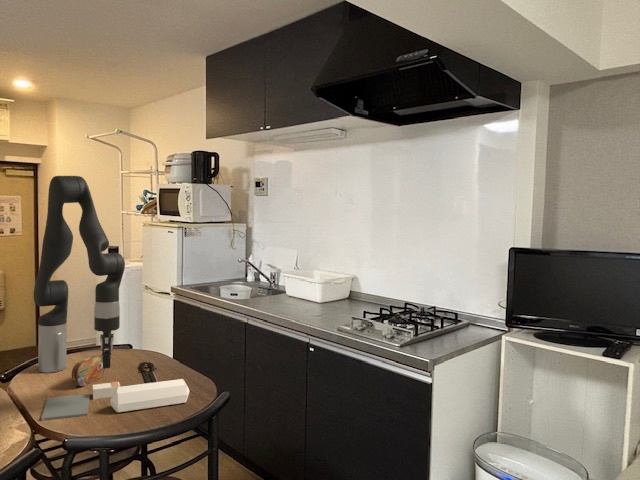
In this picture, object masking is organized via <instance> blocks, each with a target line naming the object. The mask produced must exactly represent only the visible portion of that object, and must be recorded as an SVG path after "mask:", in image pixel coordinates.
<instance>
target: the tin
mask: <svg viewBox="0 0 640 480" xmlns="http://www.w3.org/2000/svg"><path fill="white" fill-rule="evenodd" d="M105 370H106V368H105V369H104V368H103V357H102V355H91V356H89V357H87V358H85V359H82V360H80V361H78V362H77V363H75V364H74V366H73V367H72V371H71V381H72V383H73V385H75V386H78V387H86V386H87V385H90V384H92V383H94V382H95V381H97V380H100V379H101V378H102V376H103V375H104V372H105Z"/></svg>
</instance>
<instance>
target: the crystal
mask: <svg viewBox="0 0 640 480" xmlns="http://www.w3.org/2000/svg"><path fill="white" fill-rule="evenodd" d="M189 395H190V389H189V386H188V385H187V383H186V382H185V379H183V378H180V379H178V378H177V379H173V380H172V379H171V380H164V381H162V380H161V381H158V382H154V383H153V382H151V383H147V382H146V383H140V384H139V383H138V384H132V385H124V386H120V387H118V388H117V389H116V390H115V392H114V394H113V395H112V397H110V400H109V403H110V406H111V408H112V409H113V411H115V412H116V413H123V412H130V411H137V410H145V409H150V408H157V407H165V406H169V405H179V404H183V403H186V402H187V401H188V398H189Z"/></svg>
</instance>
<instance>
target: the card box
mask: <svg viewBox="0 0 640 480" xmlns="http://www.w3.org/2000/svg"><path fill="white" fill-rule="evenodd" d="M118 387H121V384H120V382H119V381H111V382H106V383H97V384H92V399H93V400H98V399H99V400H101V399H109V398H111V397H112V395H113V394H114V392H115V390H116V389H117V388H118Z"/></svg>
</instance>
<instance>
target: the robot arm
mask: <svg viewBox="0 0 640 480" xmlns="http://www.w3.org/2000/svg"><path fill="white" fill-rule="evenodd" d="M75 203H76V204H77V203H78V204H79V206H80V208H81V216H80V220H79V225H78V231H79V236H80V237H81V240H82V243H83V244H84V246H85V248H86V252H87V259H88V265H89V266H88V267H89V270H90V271H91V273H93V274H94V275H95V276H97V277H102V276H106V279H105V280H104V281H101V282H99V283H97V284H96V285H95V290H94V291H95V297H94V298H95V303H94V311H93V312H94V315H93V316H94V317H93V318H94V319H93V322H94V323H93V325H94V326H93V329H94V330H95V332H102V334H100V335H99V340H100V341H99V342H100V351H101V356H102V357H103V368H104V369H105V370H106V369H110V368H111V356H112V350H113V345H114V343H113V342H114V333H112V332H113V331H117V330H119V329H120V323H121V321H120V319H121V318H120V316H121V315H120V286H121V284H122V283H121V282H122V278H123V277H124V272H125V268H126V263H125V258H124V257H123V255H122V254H121V253H118V252H108V253H103V252H105V251H106V250H107V249H108V248H109V246H110V241H109V239H108V237H107V234H106V233H105V230H104V229H103V227H102V225H101V222H100V220H99V218H98V215H97V211H96V207H95V204H94V200H93V196H92V194H91V190H90V188H89V185H88V183H87V181H86V179H85V178H83V176H79V175H55V176H53V177H52V178H51V179H50V182H49V187H48V197H47V213H46V215H47V216H46V221H45V228H44V233H43V240H42V247H41V255H40V262H39V268H38V270H37V271H38V272H37V275H36V280H35V283H34V287H33V297H32V298H33V302H34V304H35V305H36V306H37V307H52V306H54V307H53V308H52V309H51V310H49V311H48V312H46V313H44V314H42V315H40V316H39V317H38V322H37V323H38V352H37V353H38V359H37V361H38V362H37V367H38V372H40V373H47V374H49V373H56V372H57V373H58V372H61V371H64V370H65V369H67V331H68V330H67V327H68V326H67V323H68V321H67V319H68V304H69V285H68V283H67V281H66V280H63V279H56V280H55V279H54V280H51V279H52V277H53V275H54V273H56V271H57V270H58V269H60V267H61V266H62V265H63V264H64V263H65V261H66V260H67V259H68V258H69V256H70V255H71V252H72V248H73V243H74V234H73V232H72V229H71V228H70V226H69V224H68V223H67V221H66V220H65V218H64V215H63V212H64V211H63V209H64V204H75Z"/></svg>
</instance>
